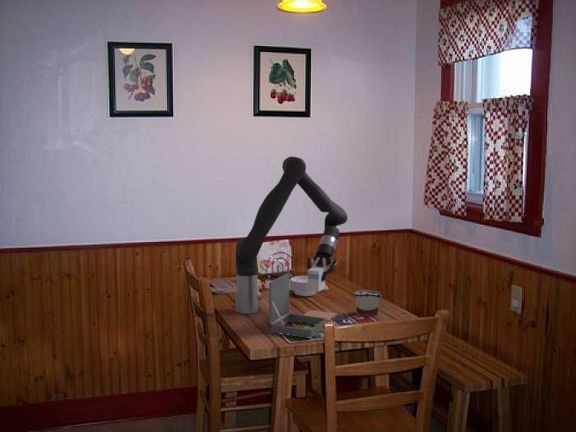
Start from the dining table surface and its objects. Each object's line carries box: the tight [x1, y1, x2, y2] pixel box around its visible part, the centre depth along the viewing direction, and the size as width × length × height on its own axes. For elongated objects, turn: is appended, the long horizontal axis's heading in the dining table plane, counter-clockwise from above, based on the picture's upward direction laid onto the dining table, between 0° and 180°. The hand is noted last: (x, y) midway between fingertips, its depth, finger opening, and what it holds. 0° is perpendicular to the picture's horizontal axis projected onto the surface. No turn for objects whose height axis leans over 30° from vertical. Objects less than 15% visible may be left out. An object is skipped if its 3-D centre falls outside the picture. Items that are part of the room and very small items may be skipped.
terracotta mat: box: [303, 309, 338, 321], centre depth 286 cm, size 13×16×1 cm
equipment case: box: [268, 272, 328, 337], centre depth 268 cm, size 18×18×21 cm
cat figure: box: [257, 278, 266, 301], centre depth 326 cm, size 10×9×25 cm
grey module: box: [306, 267, 326, 293], centre depth 283 cm, size 5×7×9 cm
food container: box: [353, 289, 382, 316], centre depth 292 cm, size 12×6×10 cm, turn 84°
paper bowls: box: [289, 275, 317, 297], centre depth 324 cm, size 15×15×8 cm
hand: (316, 279), depth 283 cm, fingers closed on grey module, 5 cm apart
